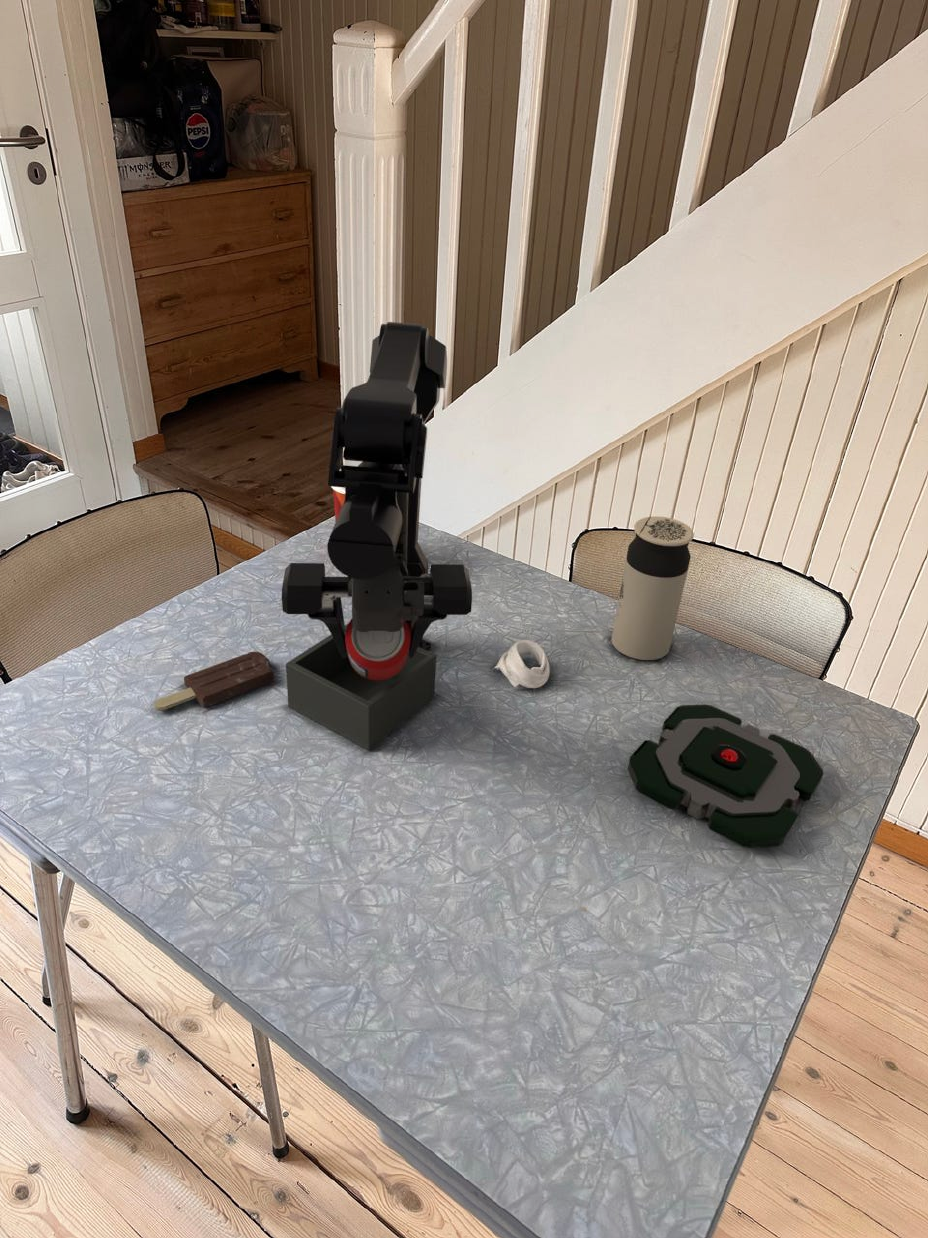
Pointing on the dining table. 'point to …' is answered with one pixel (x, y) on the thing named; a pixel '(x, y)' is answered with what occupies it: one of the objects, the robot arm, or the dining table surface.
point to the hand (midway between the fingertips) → (377, 655)
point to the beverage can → (377, 651)
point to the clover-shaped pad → (726, 774)
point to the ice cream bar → (222, 681)
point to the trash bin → (357, 693)
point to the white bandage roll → (518, 671)
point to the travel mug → (652, 587)
